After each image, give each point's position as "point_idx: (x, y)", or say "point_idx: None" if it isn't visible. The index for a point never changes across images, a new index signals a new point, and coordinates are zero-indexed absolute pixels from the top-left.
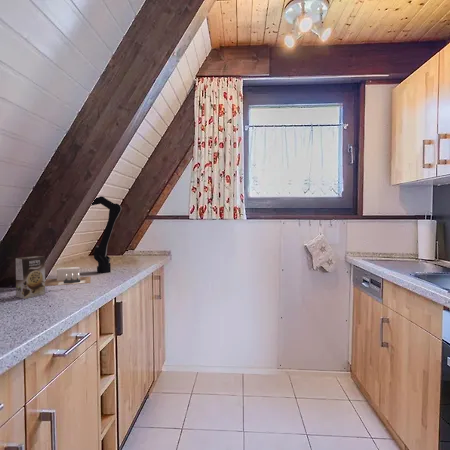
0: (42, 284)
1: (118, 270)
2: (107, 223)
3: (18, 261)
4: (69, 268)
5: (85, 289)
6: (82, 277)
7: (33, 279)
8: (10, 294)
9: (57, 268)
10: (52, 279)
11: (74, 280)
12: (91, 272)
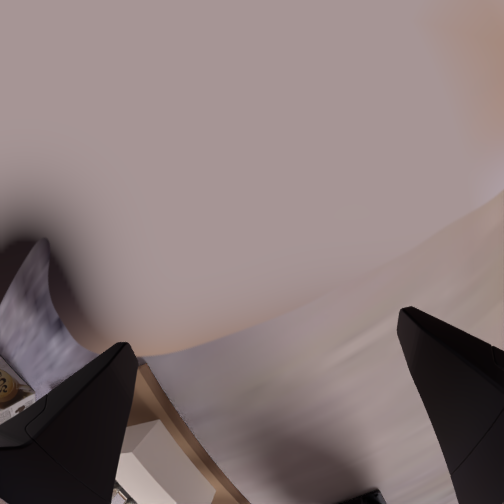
0: None
1: (451, 497)
2: None
3: None
4: (143, 499)
5: (111, 501)
6: (220, 497)
7: None
8: (4, 322)
9: (121, 454)
10: (142, 400)
11: (119, 490)
12: (430, 443)
